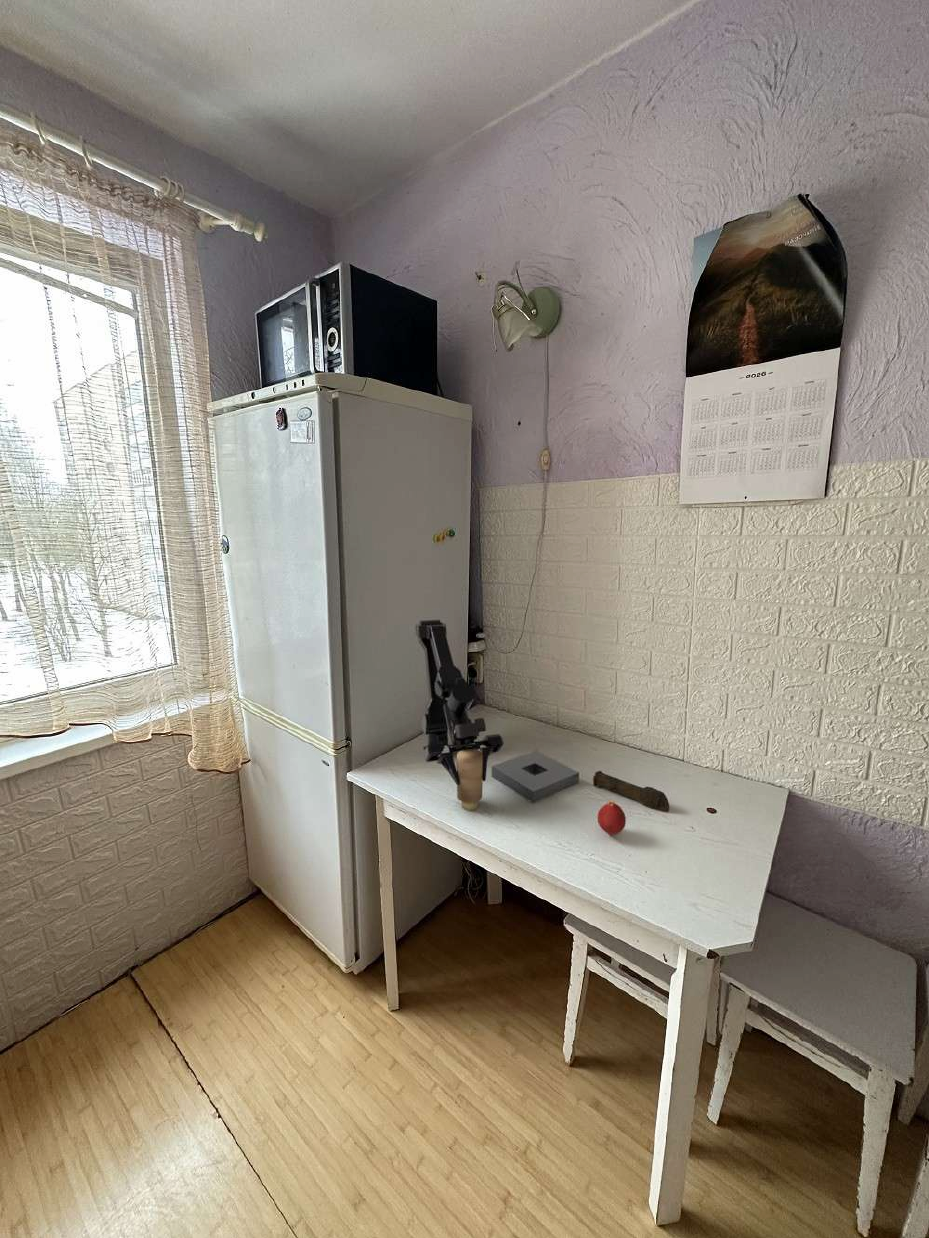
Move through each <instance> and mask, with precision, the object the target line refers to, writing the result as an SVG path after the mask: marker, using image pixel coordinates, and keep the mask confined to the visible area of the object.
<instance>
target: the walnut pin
mask: <svg viewBox="0 0 929 1238" xmlns="http://www.w3.org/2000/svg"><path fill="white" fill-rule="evenodd" d="M482 767H483V755H482V753H481V752H480V751H479V750H474V749H465V750H461V751H459V752H457V754H456V770H457V774H458V777H459V783H460V784H459V785H457V784H456V797H457V800H459V801H460V802H461V808H462V809H464V810H466V811H473V810H476V809H477V808H478V807H479V803H478V802H479V801H481V800H482V799H483V780H482Z"/></svg>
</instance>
